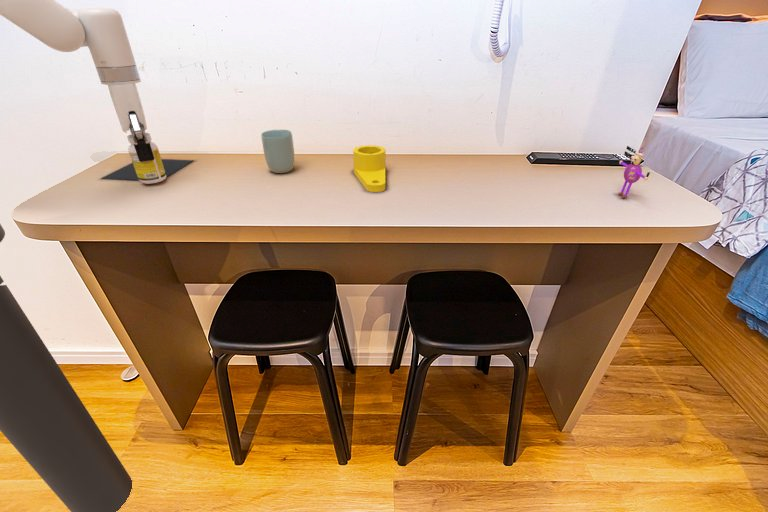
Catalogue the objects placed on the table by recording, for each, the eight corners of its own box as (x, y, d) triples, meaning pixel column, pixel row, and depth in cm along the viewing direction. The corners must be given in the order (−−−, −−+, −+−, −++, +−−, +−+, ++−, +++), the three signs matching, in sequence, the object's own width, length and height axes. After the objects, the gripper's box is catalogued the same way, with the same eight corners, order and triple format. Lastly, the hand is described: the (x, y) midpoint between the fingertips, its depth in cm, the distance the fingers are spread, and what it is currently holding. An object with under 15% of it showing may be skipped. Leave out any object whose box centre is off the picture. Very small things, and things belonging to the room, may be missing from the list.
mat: (101, 178, 99) (101, 178, 99) (141, 159, 112) (141, 158, 112) (160, 181, 97) (159, 180, 97) (193, 161, 111) (193, 160, 111)
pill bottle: (156, 173, 100) (142, 130, 94) (172, 178, 97) (159, 133, 92) (133, 181, 95) (117, 136, 89) (149, 186, 93) (134, 139, 87)
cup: (294, 164, 108) (290, 128, 103) (298, 174, 102) (293, 136, 97) (266, 167, 106) (260, 130, 101) (268, 177, 100) (261, 138, 95)
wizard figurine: (605, 187, 95) (622, 138, 88) (618, 187, 95) (636, 138, 88) (630, 207, 85) (650, 153, 79) (644, 207, 85) (666, 153, 79)
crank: (352, 167, 106) (351, 146, 103) (382, 166, 107) (382, 144, 104) (359, 193, 91) (358, 168, 88) (394, 191, 92) (394, 166, 89)
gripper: (98, 72, 88) (125, 150, 98) (99, 81, 76) (130, 169, 85) (135, 70, 92) (158, 145, 101) (142, 78, 79) (167, 164, 89)
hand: (145, 155), depth 93 cm, fingers closed on pill bottle, 6 cm apart
